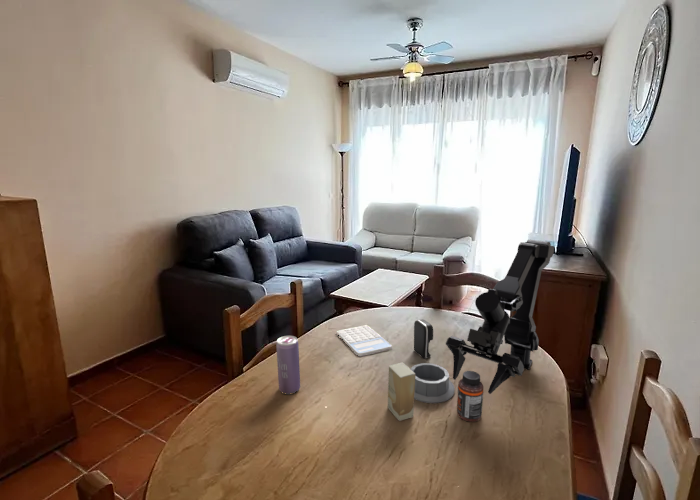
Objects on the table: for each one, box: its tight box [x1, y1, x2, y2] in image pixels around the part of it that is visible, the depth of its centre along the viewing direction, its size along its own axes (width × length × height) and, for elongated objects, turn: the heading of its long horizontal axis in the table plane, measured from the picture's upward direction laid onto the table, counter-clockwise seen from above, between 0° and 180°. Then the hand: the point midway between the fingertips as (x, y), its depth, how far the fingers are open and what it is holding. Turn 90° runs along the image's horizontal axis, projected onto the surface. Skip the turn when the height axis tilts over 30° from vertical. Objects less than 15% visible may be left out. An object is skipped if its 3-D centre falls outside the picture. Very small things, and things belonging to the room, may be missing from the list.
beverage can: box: [275, 335, 301, 395], centre depth 107 cm, size 6×6×15 cm
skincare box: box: [387, 361, 415, 422], centre depth 97 cm, size 6×4×12 cm
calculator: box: [336, 324, 393, 357], centre depth 138 cm, size 13×20×2 cm, turn 24°
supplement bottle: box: [456, 370, 484, 423], centre depth 96 cm, size 6×6×11 cm
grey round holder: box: [410, 362, 456, 404], centre depth 108 cm, size 14×14×5 cm
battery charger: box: [413, 319, 434, 359], centre depth 127 cm, size 7×4×11 cm, turn 21°
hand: (471, 385), depth 95 cm, fingers open, 9 cm apart
